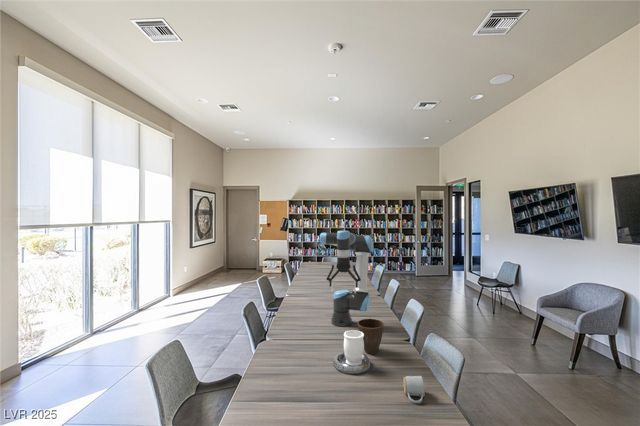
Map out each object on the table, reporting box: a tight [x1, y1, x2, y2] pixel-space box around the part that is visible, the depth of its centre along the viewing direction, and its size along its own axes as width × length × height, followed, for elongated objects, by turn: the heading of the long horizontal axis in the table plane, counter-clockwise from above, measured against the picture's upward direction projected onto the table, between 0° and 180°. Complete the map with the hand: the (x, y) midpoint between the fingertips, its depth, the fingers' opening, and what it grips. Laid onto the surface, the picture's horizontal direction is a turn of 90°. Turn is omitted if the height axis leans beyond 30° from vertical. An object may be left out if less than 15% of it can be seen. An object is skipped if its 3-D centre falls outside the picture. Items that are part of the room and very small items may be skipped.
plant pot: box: [357, 318, 385, 355], centre depth 169 cm, size 15×15×16 cm
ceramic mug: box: [402, 375, 426, 404], centre depth 126 cm, size 11×8×8 cm
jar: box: [343, 329, 365, 366], centre depth 153 cm, size 11×10×15 cm
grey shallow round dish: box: [333, 350, 371, 375], centre depth 153 cm, size 19×19×4 cm
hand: (343, 292), depth 174 cm, fingers open, 13 cm apart
